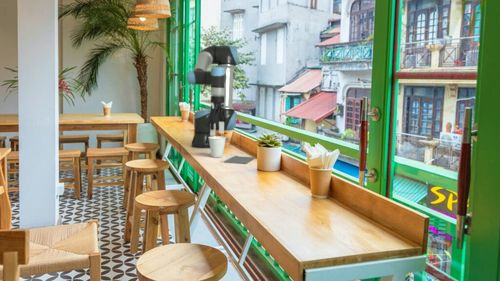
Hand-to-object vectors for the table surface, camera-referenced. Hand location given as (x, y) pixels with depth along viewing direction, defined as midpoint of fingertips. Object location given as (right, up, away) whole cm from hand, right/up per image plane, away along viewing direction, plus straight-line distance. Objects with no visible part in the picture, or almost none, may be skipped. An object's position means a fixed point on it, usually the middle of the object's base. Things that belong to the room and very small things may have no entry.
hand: (217, 134), depth 253 cm
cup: (0, -13, +2) cm, 13 cm away
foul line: (+6, -13, -4) cm, 15 cm away
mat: (+13, -14, -7) cm, 20 cm away
